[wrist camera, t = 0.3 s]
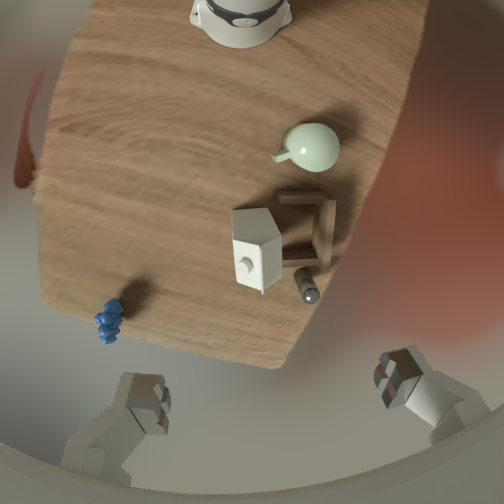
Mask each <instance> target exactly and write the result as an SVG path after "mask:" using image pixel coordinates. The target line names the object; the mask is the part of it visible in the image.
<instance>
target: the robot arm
mask: <svg viewBox="0 0 504 504" xmlns="http://www.w3.org/2000/svg"><path fill="white" fill-rule="evenodd" d="M289 7H290V4H288V2H287V0H195V1H194V5H193V8H192V12H191V15H190V22H191V24H193V25H195V26H197V27H199V28H202V29H203V30H204V31H205V32H206V33H207V34H208V35H209V36H210V37H211V38H212V39H213V40H214V41H216V42H218V43H219V44H222V45H224V46H227V47H232V48H250V47H255V46H258V45H260V44H263V43H265V42H266V41H268V40H269V39H270V38H271V37H272V36H273V35H274V34H275V33H276V32H277V31H278V30H279V29H280V28H281V27H284V26H286V25H288V24H289V23H290V22H291V21H292V15H291V12H290V8H289ZM196 13H198V15H195V14H196ZM379 361H380V364H379V365H378V366H377V367H376V369H375V371H374V381H375V385H376V387H377V388H378V390H380V391H382V392H383V393H382V396H381V397H382V399H383V401H384V403H385V405H386V407H387V409H390V408H393V407H396V406H400V405H403V404H405V406H407V407H408V408H409V409H411V410H412V411H414V412H415V413H416V414H417V415H419V416H420V417H421V418H423V419H424V420H426V421H427V422H428V423H430V424H431V425H432V426H434V427H435V429H434V430H433V431H432V432H431V434H430V435H429V437H428V439H429V441H430V443H431V446H430V447H428V448H426V449H424V450H422V451H420V452H417V453H415V454H413V455H410V456H408V457H406V458H403V459H400V460H398V461H395V462H393V463H390V464H387V465H385V466H382V467H379V468H376V469H373V470H370V471H366V472H363V473H360V474H356V475H353V476H349V477H345V478H342V479H338V480H334V481H330V482H325V483H320V484H315V485H310V486H305V487H299V488H292V489H285V490H278V491H269V492H259V493H246V494H245V493H244V494H188V493H173V492H164V491H155V490H148V489H141V488H135V487H130V485H131V476H130V475H129V474H128V473H127V472H126V471H125V470H124V469H123V468H122V467H121V465H122V463H123V462H124V461H125V460H126V459H127V457H128V456H129V455H130V454H131V453H132V452H133V450H134V449H135V448H136V447H137V445H138V444H139V443H140V442H141V441H142V439H143V438H144V437H145V436H146V434H152V435H167V433H168V425H169V420H168V418H167V414H168V413H169V412H170V409H171V397H170V392H169V389H168V388H167V387H165V379H164V376H163V375H155V374H140V373H126V372H124V373H123V374H122V375H121V377H120V380H119V383H118V387H117V390H116V393H115V396H114V400H113V403H112V406H108V407H106V408H105V409H104V410H103V411H102V412H101V413H100V414H98V415H97V416H96V417H95V418H93V419H92V420H91V421H90V422H89V423H88V424H86V425H85V426H84V427H83V428H82V429H80V431H78V432H77V433H76V434H74V435H73V436H72V437H71V438H70V439H69V440H68V442H67V445H66V448H65V452H64V455H63V459H62V462H61V465H60V468H58V467H55V466H52V465H49V464H46V463H44V462H41V461H39V460H36V459H34V458H32V457H29V456H27V455H25V454H23V453H20V452H18V451H16V450H14V449H12V448H10V447H8V446H6V445H4V444H2V443H1V442H0V504H504V403H503V404H502V405H501V406H499V407H498V408H496V409H495V410H493V411H492V412H491V410H490V409H489V407H488V406H487V404H486V403H485V401H484V400H483V398H482V397H481V395H480V394H479V392H478V391H477V390H475V389H473V388H471V387H469V386H467V385H465V384H463V383H461V382H459V381H457V380H455V379H453V378H451V377H449V376H447V375H445V374H443V373H441V372H439V371H437V370H436V371H434V370H433V369H432V367H431V366H430V364H429V363H428V361H427V360H426V359H425V357H424V356H423V354H422V353H421V352H420V350H419V349H418V347H417V346H415V345H412V346H408V347H405V348H400V349H396V350H392V351H388V352H384V353H382V355H380V358H379Z"/></svg>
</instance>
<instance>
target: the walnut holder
mask: <svg viewBox="0 0 504 504" xmlns="http://www.w3.org/2000/svg"><path fill="white" fill-rule="evenodd" d="M276 198H277V200H278V201H279V203H280V204H281V205H289V204H314V217H313V233H312V247H311V248H300V249H282V267H298V266H313V265H318V267H319V268H320V270H321V272H322V273H323V272H329V271H330V263H331V254H332V245H333V235H334V225H335V213H336V200H335V199H334V198H333V197H331V196H330V195H329V194H327V193H326V192H324V191H323V190H276Z"/></svg>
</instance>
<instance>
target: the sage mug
mask: <svg viewBox="0 0 504 504" xmlns="http://www.w3.org/2000/svg"><path fill="white" fill-rule="evenodd" d="M281 146H282V150H281V151H278V152H275V153H273V154H271V157H272V159H273V160H274V161H276V162H277V163H278V162H281V161H283V160H286V159H289V160H290V161H291V162H293V163H295V164H297V165H299V166H300V167H302V168H304V169H306V170H308V171H311V172H321V171H325V170H327V169H329V168H330V167H331V166H333V165H334V163H335V162H336V160H337V159H338V156H339V152H340V144H339V140H338V137H337V136H336V134H335V133H334V131H333V130H332V129H330V128H329V127H327V126H326V125H323V124H319V123H303V124H295V125H293V126H291V127H290V128H288V129H287V130H286V132H285V133H284V135H283V137H282V142H281Z"/></svg>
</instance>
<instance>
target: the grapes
mask: <svg viewBox="0 0 504 504" xmlns="http://www.w3.org/2000/svg"><path fill="white" fill-rule="evenodd" d="M104 308H105V311H104V312H103V313H98V314H97V315H96V316H95V320H96V322H97V323H98V324H100V325H101V326H100V327H99V328H98V330H99V332H100V334H101V336H100V338H101V340H102V342H103V343H104V344H109V343H113V342H114V341H116V340H117V338H116V336H115V335H117V334H118V333H119V332H120V329H119V328H118V327H119V326H120V325H121V322H122V321H123V320H122V318H121V316H120V315H119V314H120V313H121V312H123V309H122V307H121V304H120V302H119V300H118V299H117V298H113V299H111V300H110V301H109V302H107V303H106V304H105V305H104Z"/></svg>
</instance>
